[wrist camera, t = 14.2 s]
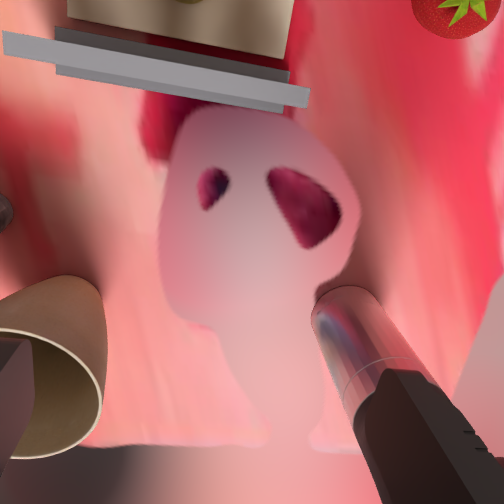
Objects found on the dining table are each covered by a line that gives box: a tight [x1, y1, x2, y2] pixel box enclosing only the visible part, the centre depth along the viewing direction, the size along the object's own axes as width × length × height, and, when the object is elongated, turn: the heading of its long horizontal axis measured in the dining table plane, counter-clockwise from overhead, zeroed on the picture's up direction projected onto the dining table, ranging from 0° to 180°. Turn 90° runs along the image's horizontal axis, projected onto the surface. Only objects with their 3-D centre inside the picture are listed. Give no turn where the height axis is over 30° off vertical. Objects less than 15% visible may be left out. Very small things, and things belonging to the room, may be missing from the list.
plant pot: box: [0, 275, 108, 459], centre depth 41 cm, size 15×15×16 cm
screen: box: [2, 26, 311, 114], centre depth 34 cm, size 22×4×11 cm, turn 80°
